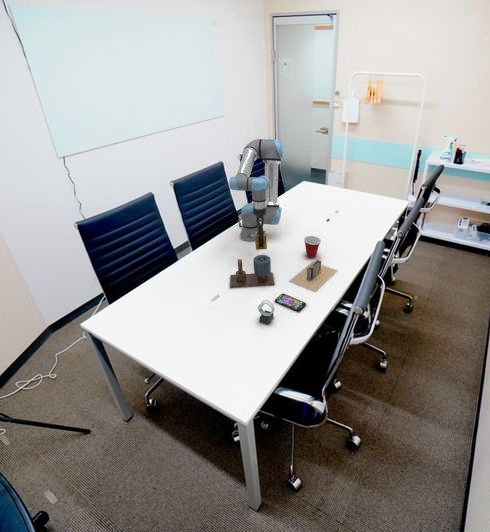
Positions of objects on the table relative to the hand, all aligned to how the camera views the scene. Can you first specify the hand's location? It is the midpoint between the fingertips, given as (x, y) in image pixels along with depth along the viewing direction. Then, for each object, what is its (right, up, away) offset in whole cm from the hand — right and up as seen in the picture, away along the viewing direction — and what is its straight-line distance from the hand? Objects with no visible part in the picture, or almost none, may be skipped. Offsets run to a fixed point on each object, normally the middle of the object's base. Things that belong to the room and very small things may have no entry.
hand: (261, 244), depth 196 cm
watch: (+6, -39, -37) cm, 54 cm away
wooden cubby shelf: (0, -2, +1) cm, 2 cm away
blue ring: (+2, -16, -12) cm, 20 cm away
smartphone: (+17, -32, -26) cm, 45 cm away
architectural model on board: (+31, -19, -5) cm, 36 cm away
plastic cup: (+31, -7, +15) cm, 35 cm away
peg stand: (-4, -21, -9) cm, 24 cm away
